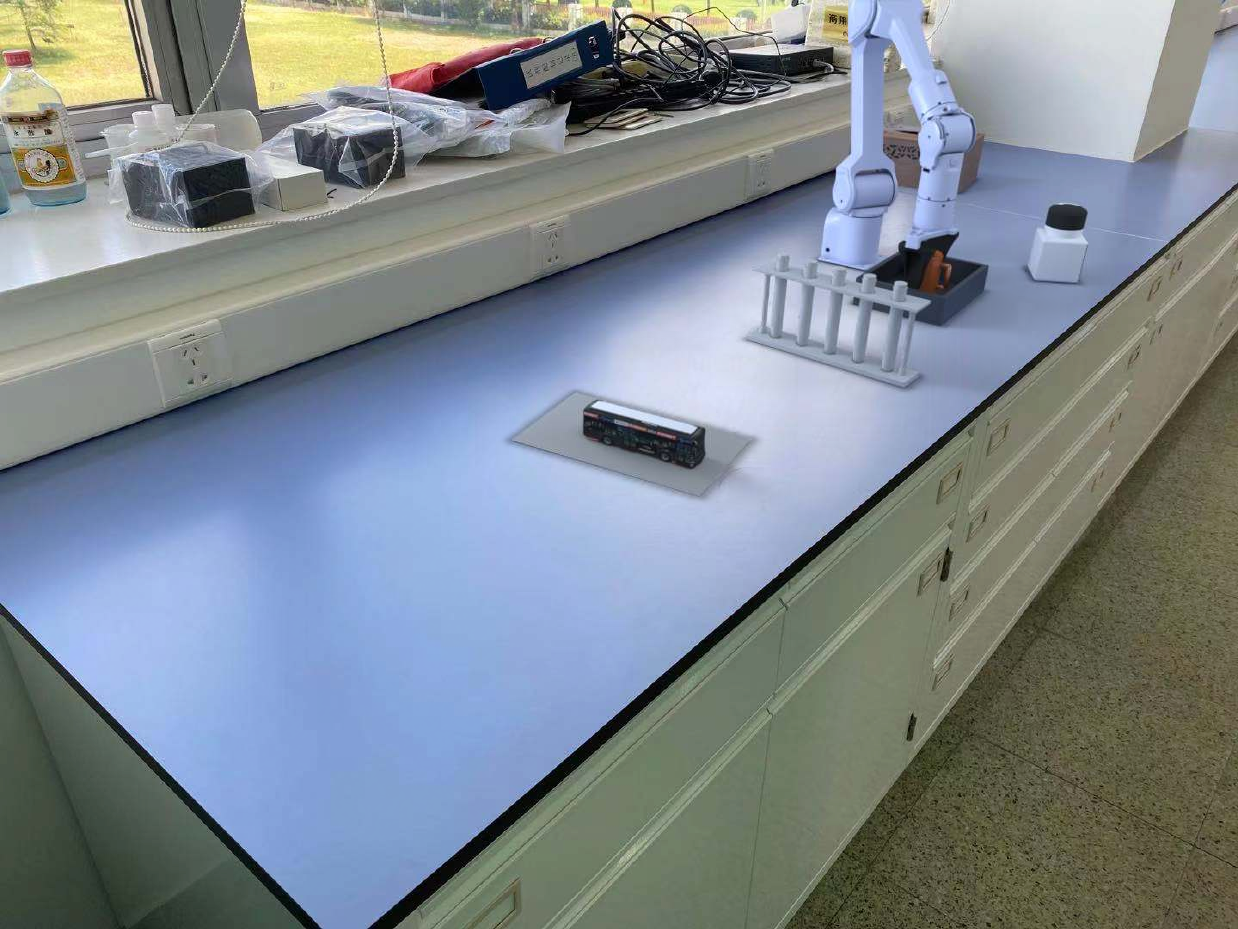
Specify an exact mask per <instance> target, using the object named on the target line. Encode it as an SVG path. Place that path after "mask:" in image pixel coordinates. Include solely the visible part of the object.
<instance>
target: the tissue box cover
mask: <svg viewBox="0 0 1238 929" xmlns="http://www.w3.org/2000/svg"><path fill="white" fill-rule="evenodd" d="M921 129H922V127H921V125H913V124H912V125H911V124H903V123H894V122H886V121H883V153H884V154H885V155H886V156H887V157H888V158H890V159H891V160H892V161H893V162H894V164H895V176H896V180H897V183H898V186H903V187H910V188H917V189H919V183H920V177H921V171H922V166H921V165H920V148H919V143H918V134H919V132H921ZM985 135H986V133H981V132H976V140H975V143H974V145H973V147H972V148H971V150H970V151H968V152H967V153H964V157H963V163H962V168H961V173H960V179H959V184H958V190H957V195H960V194H961V193H962V192H964V190H966V189H967V188H968V187H969V186H970V185H972V183H973V182H974V181H976V180H977V177H978V173H979V167H980V162H981V156H982V152H983V146H984V142H985V141H984V140H985V137H986V136H985ZM849 143H850V144H849V151H848V156H849V155H850V154H851V141H850V142H849ZM868 172H875V171H874V170H864V171H859V172H857V173H856V174H858V173H868Z"/></svg>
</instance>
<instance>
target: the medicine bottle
mask: <svg viewBox="0 0 1238 929" xmlns="http://www.w3.org/2000/svg"><path fill="white" fill-rule="evenodd" d="M1088 213H1089V212H1088V210H1087V209H1086V208H1085V207H1083V206H1081V205H1079V204H1076V203H1071V202H1070V203H1069V202H1059V203H1055V204H1052V205H1051V206H1049V208H1048V211H1047V214H1046V219H1045V223H1044V226H1043V227H1037V228H1036V229H1035V233H1034V237H1033V241H1032V246H1031V249H1030V250H1031V251H1030V255H1029V258H1028V259H1029V260H1028V264H1027V268H1028V270H1029V272H1030V275H1031V276H1032V278H1033V280H1034V281H1037V282H1050V283H1065V284H1066V283H1067V284H1078V283H1079V281H1080V277H1081V273H1082V270H1083V266H1084V261H1085V258H1086V254H1087V251H1088V247H1089V242H1088V241H1087V239H1086V238H1085V236H1084V235H1083V232H1084V229H1085V226H1086V222H1087V218H1088Z"/></svg>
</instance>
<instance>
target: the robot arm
mask: <svg viewBox="0 0 1238 929" xmlns="http://www.w3.org/2000/svg"><path fill="white" fill-rule="evenodd" d="M847 8H848V9H847V43H848V44H849V45H850V52H851V53H850V142H851V154H850V155H849V154H848V156H847V157H846V158H845V159H843V161H842V162H841V163H839V164H838V165H837V166H836V168H835V180H834V183H833V187H832V200H833V204H834V205H835V206H833V207H832V208H831V209H830V210H829V211H828V213H827V215H826V217H825V221H824V225H823V235H822V240H821V241H822V242H821V249H820V250H821V251H820V256H819V257H818V260H819V261H821V262H827V263H831V264H835V265H838V266H843V267H847V268H848V267H849V268H853V269H858V270H862V271H868V270H869V269H871V268H872V267H874V266H876V265H877V264H879V263H880V262H882V261H884V260H885V259H887V258H886V256H885V255H880V254H879V247H880V241H881V233H882V228H883V222H884V214H887V213H888V211H889V208H890V207H891V206H893V205H894V203H895V201H896V200H897V197H898V193H899V185H898V183H897V180H896V176H895V164H894V162H893V161H892V160H891V159H890V158H888V157H887V156H886V155H885V154H884V153H883V122H884V92H885V90H884V88H885V87H884V86H885V78H884V77H885V52H886V51H887V49H888V48H889V47H890V45H891V44H894V46H895V48H896V50H897V52H898V54H899V56H900V58H901V61H902V62H903V64H904V66H905V68H906V70H907V73H908V74H909V76H910V79H911V81H910V83H909V85H908V88H907V93H908V96H909V98H910V100H911V104H912V106H913V108H914V111H915V113H916V116H917V119H918V121H919V124H920V126H921V127H922V129H921V132H919V134H918V143H919V148H920V165H921V166H922V171H921V177H920V183H919V188H917V189H918V190H917V196H916V202H915V208H914V214H913V221H912V222H911V225H910V230H909V233H908V234H907V235H906V239H905V240H904V239H903V240H901V241H900V242H899V243H898V247H897V250H898V251H899V252H900V254H901V257H902V260H903V265H904V272H905V282H907V283H908V285H907V287H908V288H913V289H919V288H920V286H921V284H922V282H923V279H924V275H925V272H926V269H927V266H928V264H929V262H930V260H931V258H932V256H933V255H934V253H935V252H936V251H937V250H938V251H940V252H942V253H943V255H944V256H943V261H942V263H944V260H945V258H946V256H947V257H948V253H949V251H950V250H951V248H952V246H953V244H954V243H955V242H956V240H957V239H958V238H959V236H960V231H959V228H958V227H956V226H954V223H955V217H956V214H954V211H955V206H956V202H957V195H958V194H957V190H958V184H959V179H960V173H961V168H962V163H963V157H964V153H967V152H968V151H970V150H971V148H972V147H973V145H974V143H975V140H976V133H977V125H976V121H975V118H974V117H973V115H972V114H970V113H969V112H966V111H965V109H964V108H963V107H959V105H958V102H957V100H956V97H955V94H954V92H953V90H952V87H951V85H950V82H949V79H948V77H947V75H946V72H945V71H944V70H941V69H938V68H937V69H936V68H935V66H934V62H933V59H932V56H931V52H930V49H929V46H928V42H927V38H926V35H925V32H924V29H923V25H922V20H923V16H924V11H925V3H924V2H923V0H850V1H849V3H848V5H847ZM864 170H874V171H875V172H868V173H858V174H856V173H857V172H859V171H864ZM941 268H942V267H941Z"/></svg>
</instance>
